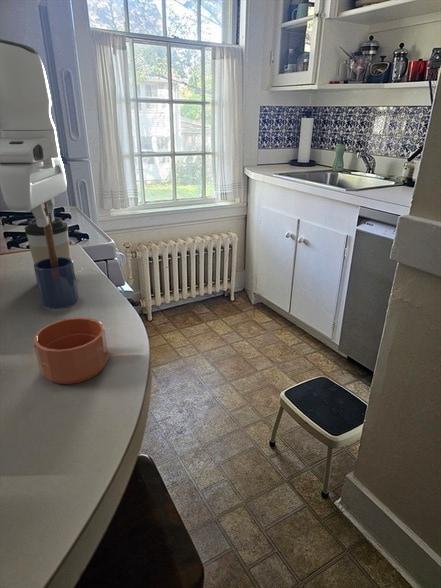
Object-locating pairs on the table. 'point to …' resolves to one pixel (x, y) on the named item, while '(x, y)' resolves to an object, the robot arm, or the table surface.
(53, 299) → the crock
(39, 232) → the coffee cup
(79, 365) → the bowl
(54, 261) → the wooden stirring stick
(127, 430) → the table surface
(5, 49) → the robot arm
